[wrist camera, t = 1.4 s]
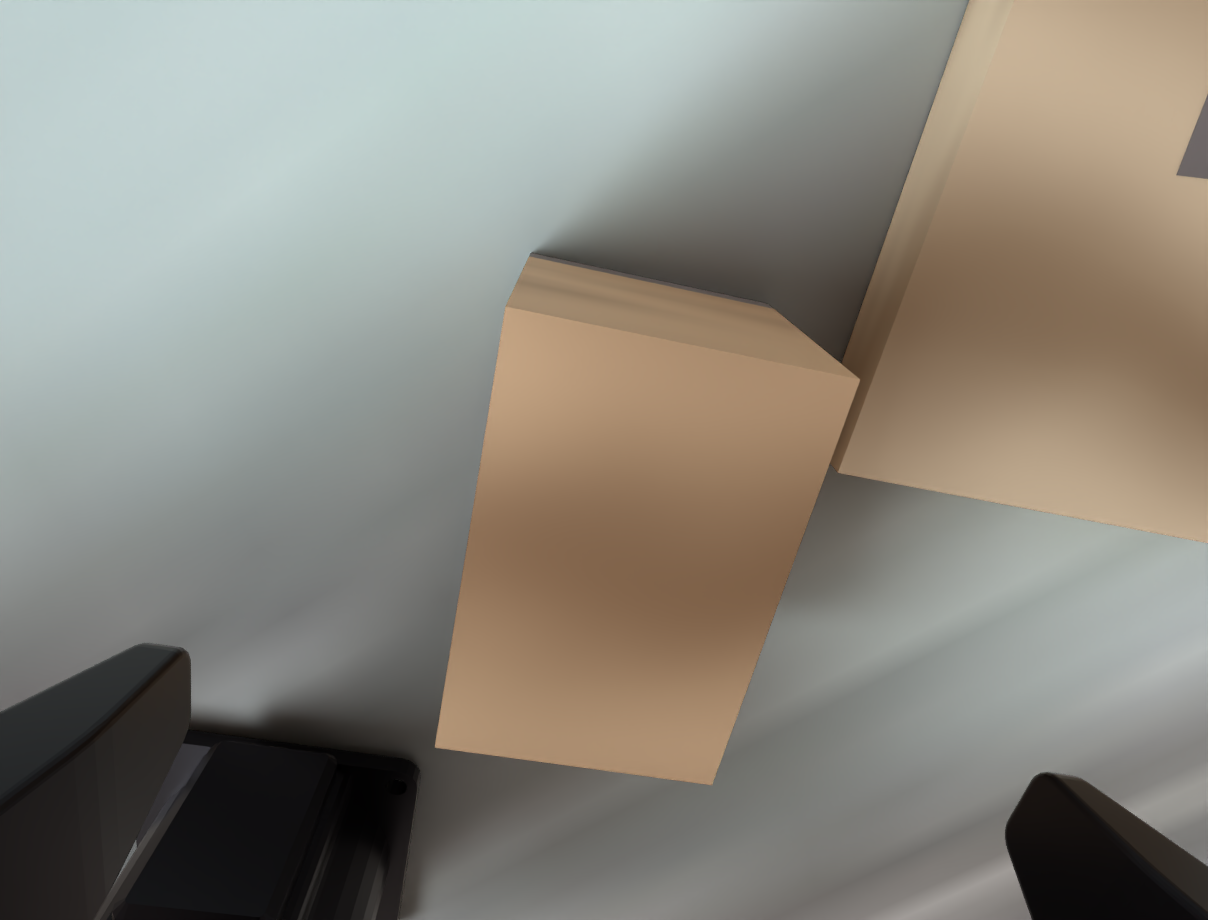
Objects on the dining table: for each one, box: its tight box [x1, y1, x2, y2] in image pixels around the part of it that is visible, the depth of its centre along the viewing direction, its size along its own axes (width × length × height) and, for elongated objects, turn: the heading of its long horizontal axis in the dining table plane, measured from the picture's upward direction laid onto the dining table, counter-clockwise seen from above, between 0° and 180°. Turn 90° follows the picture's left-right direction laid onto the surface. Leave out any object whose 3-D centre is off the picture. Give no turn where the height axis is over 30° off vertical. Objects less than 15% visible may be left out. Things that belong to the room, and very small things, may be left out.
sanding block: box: [435, 253, 860, 785], centre depth 12 cm, size 7×4×5 cm, turn 168°
